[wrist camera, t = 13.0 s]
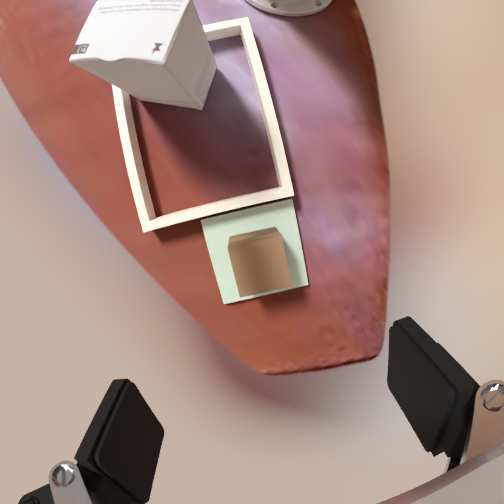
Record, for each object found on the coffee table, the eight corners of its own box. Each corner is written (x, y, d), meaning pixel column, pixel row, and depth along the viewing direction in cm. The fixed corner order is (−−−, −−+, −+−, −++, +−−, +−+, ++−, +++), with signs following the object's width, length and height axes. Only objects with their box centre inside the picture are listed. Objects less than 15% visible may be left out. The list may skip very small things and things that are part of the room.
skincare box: (218, 67, 26) (201, -7, 12) (201, 114, 28) (168, 64, 13) (150, 57, 25) (97, -5, 11) (133, 102, 27) (63, 61, 12)
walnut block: (275, 226, 30) (281, 236, 25) (283, 269, 32) (291, 286, 27) (229, 236, 30) (227, 247, 25) (240, 279, 32) (239, 297, 27)
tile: (291, 198, 30) (292, 199, 29) (306, 282, 33) (308, 284, 32) (201, 219, 30) (200, 220, 30) (224, 301, 33) (223, 304, 32)
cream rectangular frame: (247, 27, 25) (247, 17, 22) (290, 193, 30) (294, 195, 28) (117, 64, 25) (109, 58, 23) (150, 228, 31) (143, 232, 28)
